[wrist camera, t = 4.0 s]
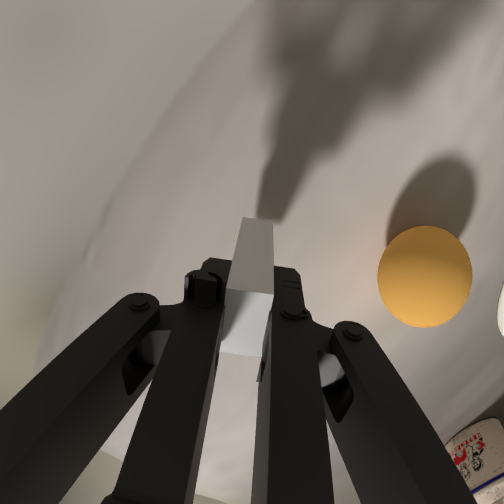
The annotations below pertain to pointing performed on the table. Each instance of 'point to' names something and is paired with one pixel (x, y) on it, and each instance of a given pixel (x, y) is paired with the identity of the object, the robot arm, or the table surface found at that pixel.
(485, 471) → the teacup with lid
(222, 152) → the table surface
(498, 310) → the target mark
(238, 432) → the table surface
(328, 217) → the table surface
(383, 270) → the ball
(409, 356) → the table surface
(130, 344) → the robot arm
